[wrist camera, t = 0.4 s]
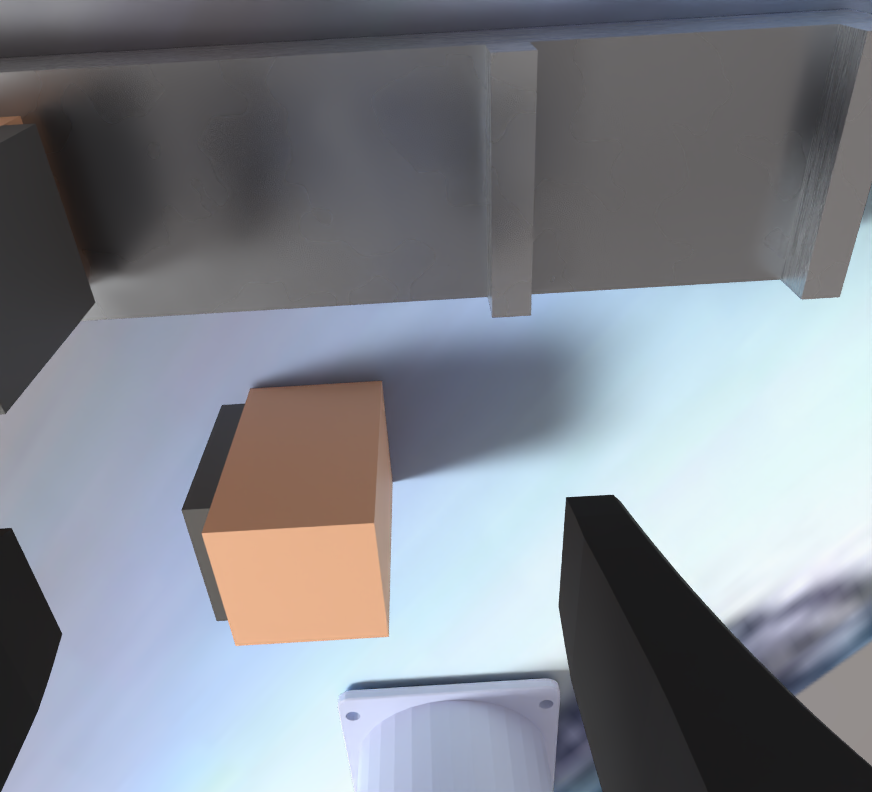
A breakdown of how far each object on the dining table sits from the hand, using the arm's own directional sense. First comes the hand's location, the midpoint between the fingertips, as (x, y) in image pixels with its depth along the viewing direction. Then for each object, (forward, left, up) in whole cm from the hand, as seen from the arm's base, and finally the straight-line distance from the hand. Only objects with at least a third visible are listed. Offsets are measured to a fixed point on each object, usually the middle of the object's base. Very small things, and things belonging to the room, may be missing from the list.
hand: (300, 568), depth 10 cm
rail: (+3, 0, -10) cm, 10 cm away
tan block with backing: (-5, +1, -10) cm, 11 cm away
